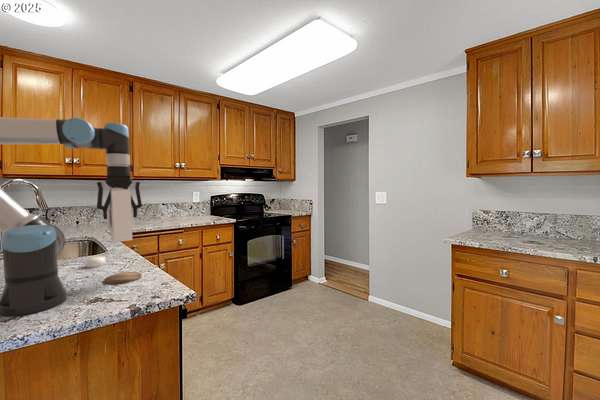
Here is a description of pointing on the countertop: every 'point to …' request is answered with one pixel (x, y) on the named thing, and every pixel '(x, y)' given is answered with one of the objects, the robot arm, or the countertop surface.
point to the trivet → (122, 278)
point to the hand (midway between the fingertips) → (121, 226)
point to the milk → (120, 214)
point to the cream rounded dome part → (95, 262)
